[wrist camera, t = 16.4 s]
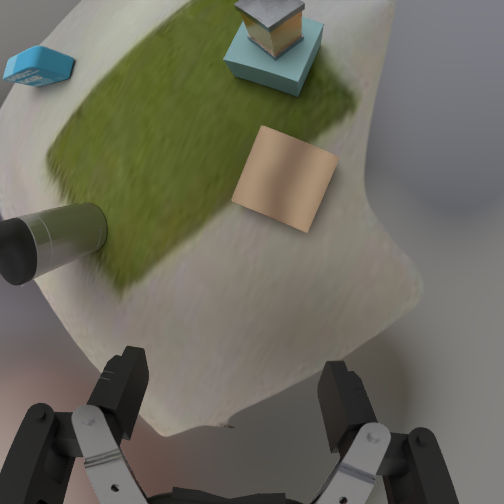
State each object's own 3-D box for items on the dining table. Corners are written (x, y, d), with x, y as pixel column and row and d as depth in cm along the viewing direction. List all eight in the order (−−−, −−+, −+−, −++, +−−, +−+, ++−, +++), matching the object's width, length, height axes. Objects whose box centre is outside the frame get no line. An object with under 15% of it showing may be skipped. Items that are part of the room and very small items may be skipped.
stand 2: (241, 197, 42) (231, 200, 35) (267, 134, 39) (261, 125, 32) (305, 224, 41) (307, 233, 34) (332, 161, 38) (339, 157, 32)
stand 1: (234, 76, 37) (223, 59, 30) (259, 26, 34) (252, 4, 28) (297, 97, 37) (298, 81, 30) (320, 45, 34) (323, 23, 27)
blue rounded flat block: (38, 87, 41) (0, 80, 30) (42, 69, 40) (5, 60, 29) (72, 78, 40) (30, 66, 29) (77, 58, 39) (37, 43, 27)
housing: (275, 61, 30) (268, 27, 21) (248, 39, 29) (234, 4, 21) (303, 39, 28) (304, 3, 20) (276, 18, 28) (269, -20, 19)
